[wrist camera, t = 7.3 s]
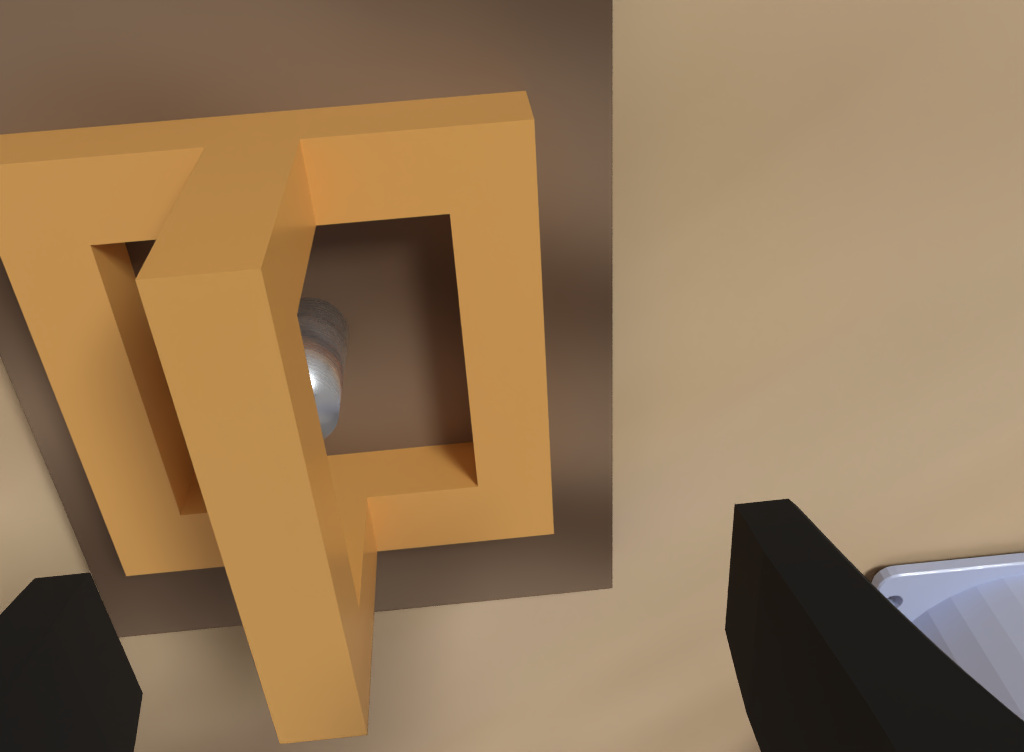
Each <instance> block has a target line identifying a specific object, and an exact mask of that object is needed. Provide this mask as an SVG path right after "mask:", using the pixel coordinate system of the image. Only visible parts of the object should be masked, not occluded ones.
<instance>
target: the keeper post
mask: <svg viewBox="0 0 1024 752" xmlns="http://www.w3.org/2000/svg"><path fill="white" fill-rule="evenodd" d="M297 317H298V322H299V326H300V331H301V336H302V341H303V345H304V350H305V355H306V360H307V364H308V369H309V374H310V378H311V383H312V388H313V393H314V397H315V402H316V407H317V412H318V416H319V421H320V426H321V430H322V435H323V439H325V438H326V437H328V436H329V435H330V434H331V433H332V431H333V430H334V429H335V427H336V425H337V422H338V418H339V411H340V403H341V394H342V386H343V378H344V369H345V361H346V353H347V345H348V336H349V329H348V324H347V321H346V319H345V317H344V316H343V314H342V313H341V312H340V311H339V310H338V309H337V308H336V307H335V306H334V305H332V304H330V303H329V302H326V301H324V300H321V299H317V298H310V297H304V298H300V303H299V307H298V312H297Z"/></svg>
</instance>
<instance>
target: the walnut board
mask: <svg viewBox="0 0 1024 752" xmlns="http://www.w3.org/2000/svg"><path fill="white" fill-rule="evenodd" d="M517 91H526V93H527V96H528V100H529V103H530V106H531V110H532V113H533V117H534V123H535V144H536V165H537V186H538V207H539V228H540V250H541V271H542V292H543V313H544V334H545V355H546V376H547V397H548V418H549V439H550V460H551V482H552V503H553V524H554V534H549V535H538V536H528V537H518V538H508V539H498V540H488V541H478V542H468V543H457V544H447V545H437V546H427V547H417V548H407V549H397V550H386V551H377V566H376V584H375V603H374V612H378V611H388V610H398V609H408V608H418V607H428V606H438V605H448V604H458V603H468V602H479V601H489V600H499V599H509V598H519V597H529V596H539V595H549V594H559V593H569V592H579V591H589V590H599V589H609V588H612V0H0V135H3V134H15V133H27V132H39V131H51V130H63V129H75V128H87V127H99V126H110V125H122V124H134V123H146V122H158V121H170V120H182V119H194V118H206V117H218V116H230V115H242V114H254V113H266V112H278V111H290V110H302V109H314V108H326V107H338V106H350V105H362V104H374V103H386V102H398V101H410V100H422V99H434V98H446V97H457V96H469V95H481V94H493V93H505V92H517ZM155 241H156V240H145V241H134V242H125V245H126V248H127V251H128V255H129V258H130V261H131V264H132V267H133V271H134V274H135V277H137V275H138V274H139V272H140V270H141V268H142V266H143V264H144V262H145V260H146V258H147V256H148V255H149V253H150V251H151V249H152V247H153V245H154V243H155ZM304 297H310V298H317V299H321V300H324V301H326V302H329V303H330V304H332V305H334V306H335V307H336V308H337V309H338V310H339V311H340V312H341V313H342V314H343V316H344V317H345V319H346V321H347V324H348V329H349V336H348V345H347V353H346V361H345V369H344V378H343V386H342V394H341V403H340V411H339V418H338V422H337V425H336V427H335V429H334V430H333V431H332V433H331V434H330V435H329V436H328V437H326V438H325V439H323V440H324V445H325V449H326V454H327V456H330V455H341V454H351V453H362V452H372V451H383V450H393V449H404V448H414V447H425V446H435V445H446V444H456V443H467V442H473V433H472V424H471V414H470V404H469V395H468V385H467V375H466V365H465V356H464V346H463V336H462V327H461V317H460V307H459V297H458V288H457V278H456V268H455V258H454V249H453V239H452V229H451V220H450V214H442V215H431V216H419V217H408V218H396V219H385V220H373V221H362V222H351V223H339V224H328V225H316V228H315V233H314V238H313V242H312V247H311V252H310V256H309V261H308V266H307V270H306V275H305V280H304V284H303V289H302V294H301V298H304ZM0 356H1V358H2V360H3V363H4V365H5V368H6V370H7V372H8V375H9V377H10V380H11V382H12V384H13V387H14V389H15V391H16V394H17V396H18V399H19V401H20V403H21V406H22V408H23V411H24V413H25V415H26V418H27V420H28V423H29V425H30V427H31V430H32V432H33V435H34V437H35V439H36V442H37V444H38V446H39V449H40V451H41V454H42V456H43V458H44V461H45V463H46V466H47V468H48V470H49V473H50V475H51V478H52V480H53V482H54V485H55V487H56V489H57V492H58V494H59V497H60V499H61V501H62V504H63V506H64V509H65V511H66V513H67V516H68V518H69V521H70V523H71V525H72V528H73V530H74V533H75V535H76V537H77V540H78V542H79V544H80V547H81V549H82V552H83V554H84V556H85V559H86V561H87V564H88V566H89V568H90V571H91V573H92V576H93V578H94V580H95V583H96V585H97V587H98V590H99V592H100V595H101V597H102V599H103V602H104V604H105V607H106V609H107V611H108V614H109V616H110V619H111V621H112V623H113V626H114V628H115V631H116V633H117V635H118V637H127V636H137V635H147V634H157V633H167V632H177V631H187V630H197V629H207V628H218V627H228V626H238V625H243V624H242V621H241V617H240V614H239V611H238V608H237V605H236V601H235V598H234V595H233V592H232V589H231V585H230V582H229V579H228V576H227V573H226V569H225V566H224V567H214V568H204V569H194V570H184V571H174V572H163V573H153V574H143V575H133V576H126V574H125V572H124V569H123V567H122V564H121V561H120V559H119V556H118V554H117V551H116V549H115V546H114V544H113V541H112V539H111V536H110V534H109V531H108V528H107V526H106V523H105V521H104V518H103V516H102V513H101V511H100V508H99V506H98V503H97V501H96V498H95V495H94V493H93V490H92V488H91V485H90V483H89V480H88V478H87V475H86V473H85V470H84V468H83V465H82V462H81V460H80V457H79V455H78V452H77V450H76V447H75V445H74V442H73V440H72V437H71V434H70V432H69V429H68V427H67V424H66V422H65V419H64V417H63V414H62V412H61V409H60V407H59V404H58V401H57V399H56V396H55V394H54V391H53V389H52V386H51V384H50V381H49V379H48V376H47V374H46V371H45V368H44V366H43V363H42V361H41V358H40V356H39V353H38V351H37V348H36V346H35V343H34V340H33V338H32V335H31V333H30V330H29V328H28V325H27V323H26V320H25V318H24V315H23V313H22V310H21V307H20V305H19V302H18V300H17V297H16V295H15V292H14V290H13V287H12V285H11V282H10V280H9V277H8V274H7V272H6V269H5V267H4V264H3V262H2V259H1V257H0Z"/></svg>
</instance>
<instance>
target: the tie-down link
mask: <svg viewBox="0 0 1024 752" xmlns="http://www.w3.org/2000/svg"><path fill="white" fill-rule="evenodd" d="M442 214H450V220H451V229H452V239H453V249H454V258H455V268H456V278H457V288H458V297H459V307H460V317H461V327H462V336H463V346H464V356H465V365H466V375H467V385H468V395H469V404H470V414H471V424H472V433H473V442H467V443H456V444H446V445H435V446H425V447H414V448H404V449H393V450H383V451H372V452H362V453H351V454H341V455H330V456H327V454H326V449H325V445H324V440H323V435H322V430H321V426H320V421H319V416H318V412H317V407H316V402H315V397H314V393H313V388H312V383H311V378H310V374H309V369H308V364H307V360H306V355H305V350H304V345H303V341H302V336H301V331H300V326H299V322H298V317H297V312H298V307H299V303H300V298H301V294H302V289H303V284H304V280H305V275H306V270H307V266H308V261H309V256H310V252H311V247H312V242H313V238H314V233H315V228H316V225H328V224H339V223H351V222H362V221H373V220H385V219H396V218H408V217H419V216H431V215H442ZM145 240H156V241H155V243H154V245H153V247H152V249H151V251H150V253H149V255H148V256H147V258H146V260H145V262H144V264H143V266H142V268H141V270H140V272H139V274H138V275H137V277H135V274H134V271H133V267H132V264H131V261H130V258H129V255H128V251H127V248H126V245H125V242H134V241H145ZM0 257H1V259H2V262H3V264H4V267H5V269H6V272H7V274H8V277H9V280H10V282H11V285H12V287H13V290H14V292H15V295H16V297H17V300H18V302H19V305H20V307H21V310H22V313H23V315H24V318H25V320H26V323H27V325H28V328H29V330H30V333H31V335H32V338H33V340H34V343H35V346H36V348H37V351H38V353H39V356H40V358H41V361H42V363H43V366H44V368H45V371H46V374H47V376H48V379H49V381H50V384H51V386H52V389H53V391H54V394H55V396H56V399H57V401H58V404H59V407H60V409H61V412H62V414H63V417H64V419H65V422H66V424H67V427H68V429H69V432H70V434H71V437H72V440H73V442H74V445H75V447H76V450H77V452H78V455H79V457H80V460H81V462H82V465H83V468H84V470H85V473H86V475H87V478H88V480H89V483H90V485H91V488H92V490H93V493H94V495H95V498H96V501H97V503H98V506H99V508H100V511H101V513H102V516H103V518H104V521H105V523H106V526H107V528H108V531H109V534H110V536H111V539H112V541H113V544H114V546H115V549H116V551H117V554H118V556H119V559H120V561H121V564H122V567H123V569H124V572H125V574H126V576H133V575H143V574H153V573H163V572H174V571H184V570H194V569H204V568H214V567H224V566H225V569H226V573H227V576H228V579H229V582H230V585H231V589H232V592H233V595H234V598H235V601H236V605H237V608H238V611H239V614H240V617H241V621H242V624H243V627H244V630H245V634H246V637H247V640H248V643H249V646H250V650H251V653H252V656H253V659H254V662H255V666H256V669H257V672H258V675H259V678H260V682H261V685H262V688H263V691H264V694H265V698H266V701H267V704H268V707H269V710H270V714H271V717H272V720H273V723H274V726H275V730H276V733H277V736H278V739H279V742H280V744H285V743H295V742H304V741H314V740H323V739H333V738H343V737H352V736H362V735H367V733H368V715H369V696H370V677H371V659H372V640H373V622H374V603H375V584H376V566H377V551H386V550H397V549H407V548H417V547H427V546H437V545H447V544H457V543H468V542H478V541H488V540H498V539H508V538H518V537H528V536H538V535H549V534H554V524H553V503H552V482H551V460H550V439H549V418H548V397H547V376H546V355H545V334H544V313H543V292H542V271H541V250H540V228H539V207H538V186H537V165H536V144H535V123H534V117H533V113H532V110H531V106H530V103H529V100H528V96H527V93H526V91H517V92H505V93H493V94H481V95H469V96H457V97H446V98H434V99H422V100H410V101H398V102H386V103H374V104H362V105H350V106H338V107H326V108H314V109H302V110H290V111H278V112H266V113H254V114H242V115H230V116H218V117H206V118H194V119H182V120H170V121H158V122H146V123H134V124H122V125H110V126H99V127H87V128H75V129H63V130H51V131H39V132H27V133H15V134H3V135H0Z"/></svg>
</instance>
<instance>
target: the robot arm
mask: <svg viewBox="0 0 1024 752" xmlns="http://www.w3.org/2000/svg"><path fill="white" fill-rule="evenodd" d="M725 631H726V635H727V639H728V643H729V647H730V651H731V655H732V659H733V663H734V667H735V671H736V675H737V679H738V683H739V686H740V690H741V694H742V697H743V701H744V705H745V709H746V712H747V715H748V718H749V721H750V723H751V726H752V729H753V732H754V734H755V737H756V739H757V742H758V745H759V747H760V750H761V752H1024V553H1015V554H1005V555H995V556H985V557H975V558H965V559H955V560H945V561H935V562H925V563H915V564H905V565H895V566H889V567H886V568H884V569H882V570H880V571H879V572H878V573H877V574H876V575H875V576H874V578H873V580H872V583H871V582H870V581H869V580H868V579H867V578H866V577H865V576H864V575H863V574H862V573H861V572H860V571H859V570H858V569H857V568H856V567H855V566H854V565H853V564H852V563H851V562H850V561H849V560H848V559H847V558H846V557H845V556H844V555H843V554H842V553H841V552H840V551H839V550H838V549H837V548H836V547H835V546H834V544H833V543H832V542H831V541H830V540H829V539H828V538H827V537H826V536H825V535H824V534H823V533H822V532H821V531H820V530H819V529H818V528H817V527H816V526H815V524H814V523H813V522H812V521H811V520H810V519H809V518H808V517H807V516H806V515H805V514H804V513H803V512H802V511H801V510H800V509H799V508H798V507H797V506H796V505H795V504H794V503H793V502H792V501H790V500H789V499H782V500H772V501H763V502H753V503H744V504H735V507H734V520H733V533H732V546H731V559H730V572H729V586H728V599H727V612H726V625H725ZM142 694H143V693H142V690H141V688H140V686H139V684H138V681H137V679H136V677H135V674H134V672H133V670H132V668H131V665H130V663H129V661H128V658H127V656H126V654H125V652H124V649H123V647H122V645H121V642H120V640H119V638H118V636H117V633H116V631H115V629H114V626H113V624H112V622H111V620H110V617H109V615H108V613H107V610H106V608H105V606H104V604H103V601H102V599H101V597H100V594H99V592H98V590H97V587H96V585H95V583H94V581H93V578H92V576H91V574H90V573H82V574H72V575H63V576H53V577H44V578H35V579H34V580H33V581H32V582H31V583H30V584H29V585H28V586H27V587H26V588H25V589H24V590H23V591H22V592H21V593H20V594H19V595H18V596H17V597H16V598H15V600H14V601H13V602H12V603H11V604H10V605H9V606H8V607H7V608H6V609H5V610H4V611H3V613H2V614H1V615H0V752H134V746H135V740H136V734H137V727H138V721H139V714H140V707H141V701H142Z"/></svg>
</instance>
